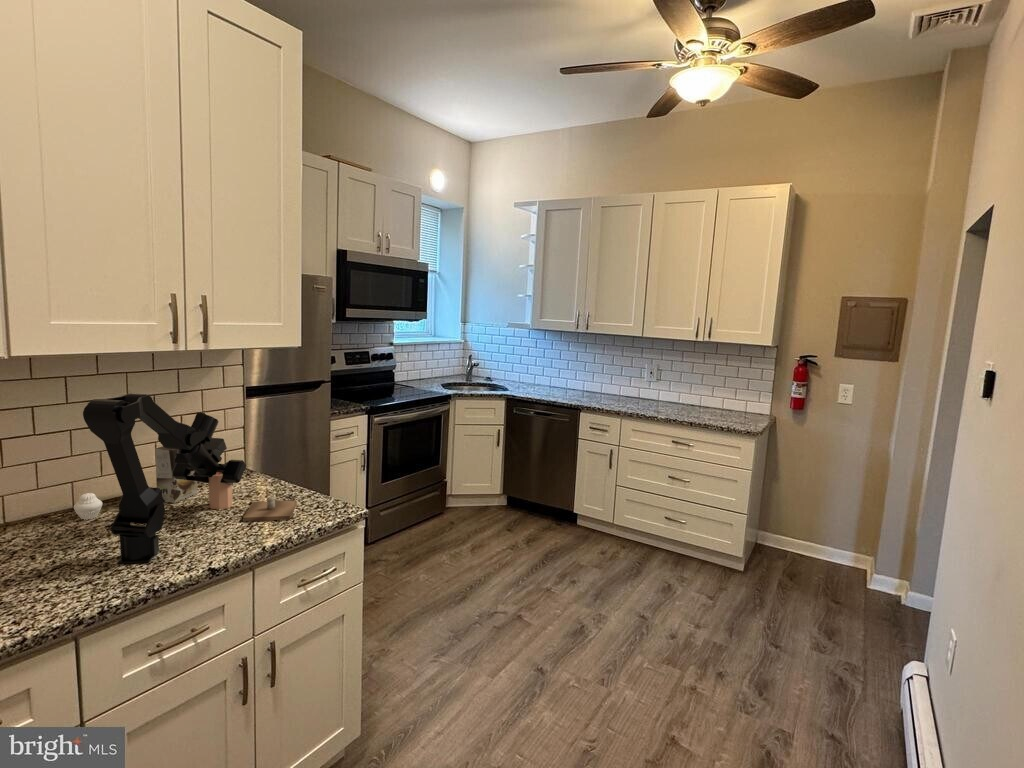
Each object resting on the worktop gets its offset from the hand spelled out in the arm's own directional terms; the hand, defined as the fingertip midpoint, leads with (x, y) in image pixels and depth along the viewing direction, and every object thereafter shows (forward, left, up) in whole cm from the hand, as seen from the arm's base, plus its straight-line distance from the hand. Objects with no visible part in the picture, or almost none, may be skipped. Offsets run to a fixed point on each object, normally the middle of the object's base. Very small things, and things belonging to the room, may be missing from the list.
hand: (222, 482), depth 162 cm
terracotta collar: (0, -1, -7) cm, 7 cm away
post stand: (+15, -8, -7) cm, 18 cm away
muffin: (-31, -7, -7) cm, 33 cm away
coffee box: (-14, +7, -7) cm, 17 cm away
